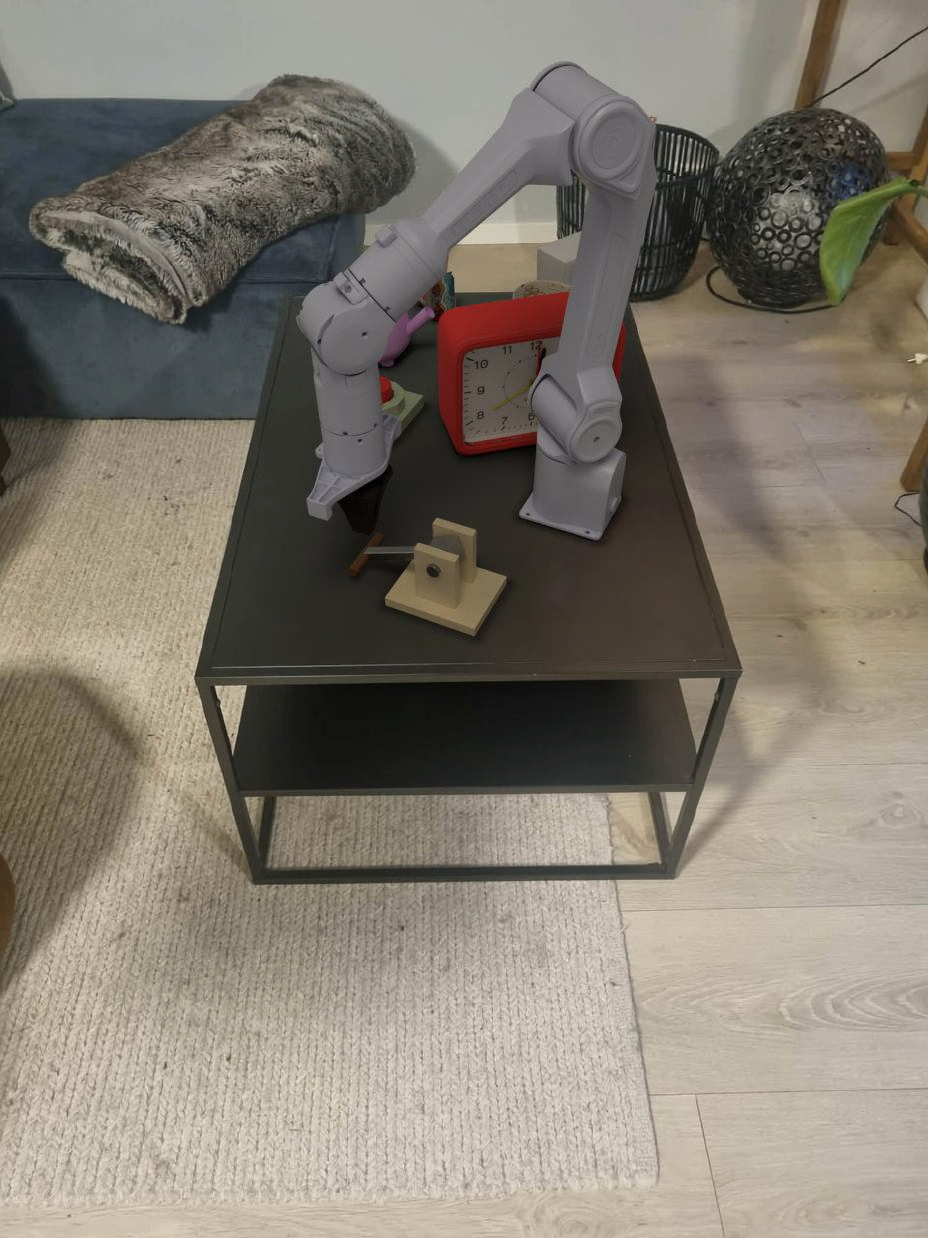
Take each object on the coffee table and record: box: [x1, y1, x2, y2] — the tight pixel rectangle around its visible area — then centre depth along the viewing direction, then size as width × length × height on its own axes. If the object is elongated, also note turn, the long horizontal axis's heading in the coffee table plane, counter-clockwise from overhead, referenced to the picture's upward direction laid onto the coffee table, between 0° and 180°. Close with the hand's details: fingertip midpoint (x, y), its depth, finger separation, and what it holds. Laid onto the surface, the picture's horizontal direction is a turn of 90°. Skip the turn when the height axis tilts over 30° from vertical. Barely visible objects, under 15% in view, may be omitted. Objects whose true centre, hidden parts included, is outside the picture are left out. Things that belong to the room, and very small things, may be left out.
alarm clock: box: [437, 291, 627, 456], centre depth 109 cm, size 10×20×16 cm, turn 105°
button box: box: [382, 380, 425, 443], centre depth 115 cm, size 8×9×4 cm
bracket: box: [384, 517, 508, 637], centre depth 93 cm, size 10×8×8 cm
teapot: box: [378, 306, 435, 368], centre depth 123 cm, size 10×15×9 cm
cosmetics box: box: [536, 230, 582, 286], centre depth 129 cm, size 10×6×10 cm, turn 126°
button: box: [380, 376, 392, 404], centre depth 113 cm, size 4×4×2 cm
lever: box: [347, 531, 466, 577], centre depth 94 cm, size 12×6×2 cm, turn 65°
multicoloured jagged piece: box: [416, 270, 458, 321], centre depth 133 cm, size 12×7×6 cm
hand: (363, 529), depth 94 cm, fingers closed
